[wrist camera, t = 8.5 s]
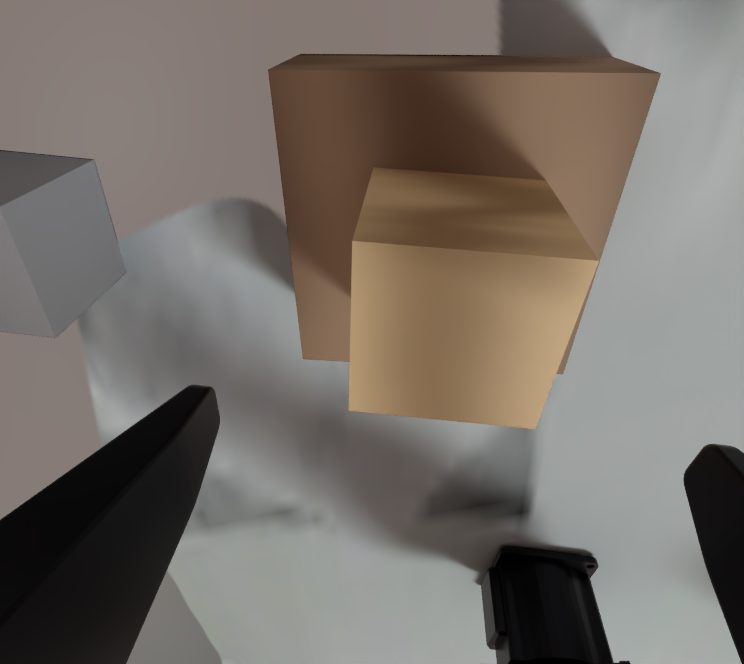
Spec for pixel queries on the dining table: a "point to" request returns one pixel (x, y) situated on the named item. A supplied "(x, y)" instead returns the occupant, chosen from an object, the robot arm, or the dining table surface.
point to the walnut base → (441, 149)
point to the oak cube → (462, 296)
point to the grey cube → (52, 242)
